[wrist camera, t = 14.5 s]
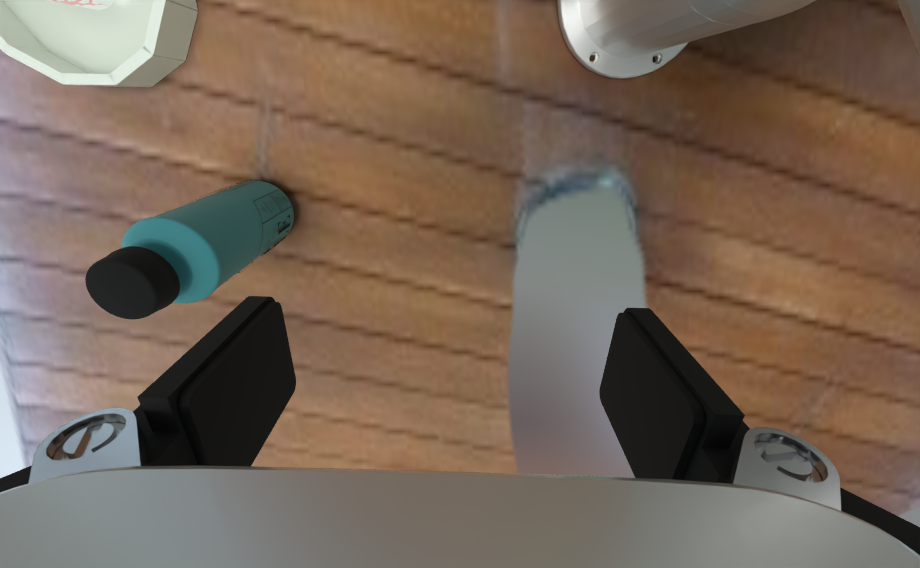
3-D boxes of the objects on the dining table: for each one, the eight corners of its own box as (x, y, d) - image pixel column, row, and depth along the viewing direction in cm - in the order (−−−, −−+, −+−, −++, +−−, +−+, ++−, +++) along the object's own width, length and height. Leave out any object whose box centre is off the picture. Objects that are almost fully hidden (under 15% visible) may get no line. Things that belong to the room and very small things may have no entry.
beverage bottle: (236, 170, 38) (36, 227, 20) (303, 181, 39) (168, 248, 21) (240, 232, 41) (67, 332, 23) (303, 242, 41) (183, 348, 23)
